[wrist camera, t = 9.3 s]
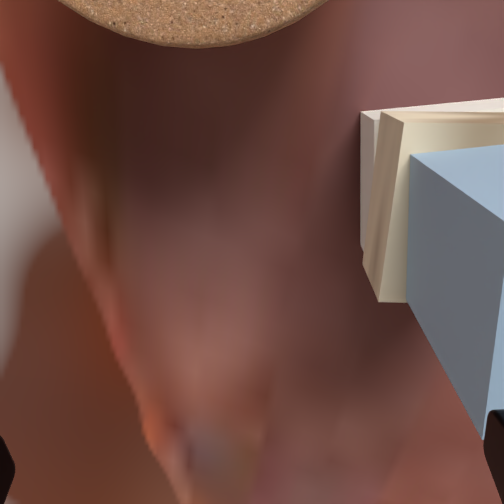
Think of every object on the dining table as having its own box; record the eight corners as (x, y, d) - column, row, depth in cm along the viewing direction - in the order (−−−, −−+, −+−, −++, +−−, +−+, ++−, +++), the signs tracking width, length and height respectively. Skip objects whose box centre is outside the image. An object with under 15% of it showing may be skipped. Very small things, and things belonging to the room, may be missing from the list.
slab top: (555, 112, 15) (618, 124, 12) (512, 267, 17) (556, 306, 15) (380, 111, 15) (404, 122, 13) (362, 264, 18) (378, 301, 15)
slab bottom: (508, 96, 18) (551, 103, 15) (490, 233, 20) (524, 260, 17) (359, 110, 18) (374, 120, 15) (359, 242, 21) (372, 270, 18)
